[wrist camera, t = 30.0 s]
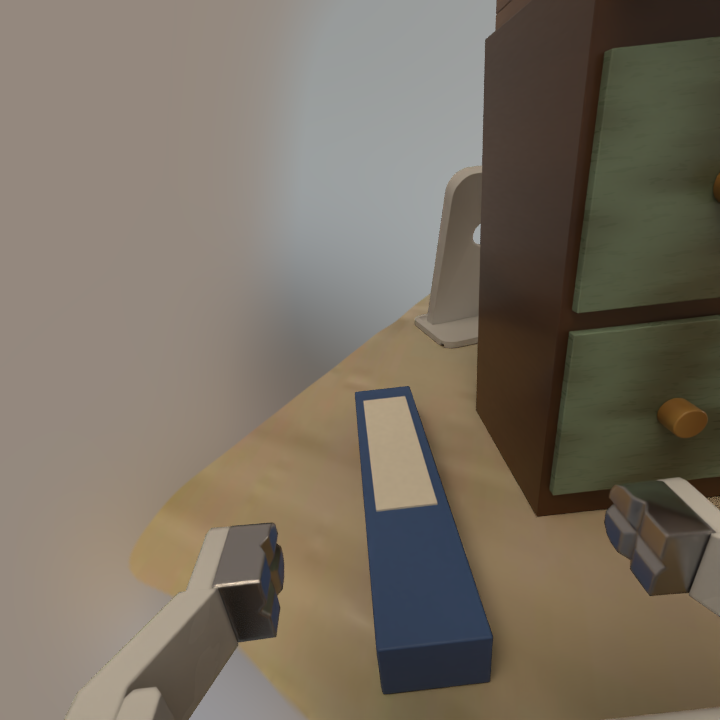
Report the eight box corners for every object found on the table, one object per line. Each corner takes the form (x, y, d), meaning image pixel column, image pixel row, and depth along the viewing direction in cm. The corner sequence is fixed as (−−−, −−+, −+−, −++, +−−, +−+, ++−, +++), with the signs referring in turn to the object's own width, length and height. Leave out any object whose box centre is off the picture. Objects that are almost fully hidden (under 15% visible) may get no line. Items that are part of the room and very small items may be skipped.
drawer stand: (619, 394, 34) (716, -100, 21) (770, 515, 22) (1192, -433, 10) (476, 410, 34) (487, -75, 21) (550, 541, 22) (677, -378, 9)
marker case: (411, 416, 34) (409, 384, 33) (490, 682, 17) (494, 635, 15) (358, 422, 34) (354, 390, 33) (382, 695, 17) (376, 649, 15)
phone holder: (527, 299, 58) (538, 155, 50) (581, 321, 49) (605, 151, 41) (411, 321, 54) (404, 171, 46) (446, 350, 45) (444, 170, 37)
